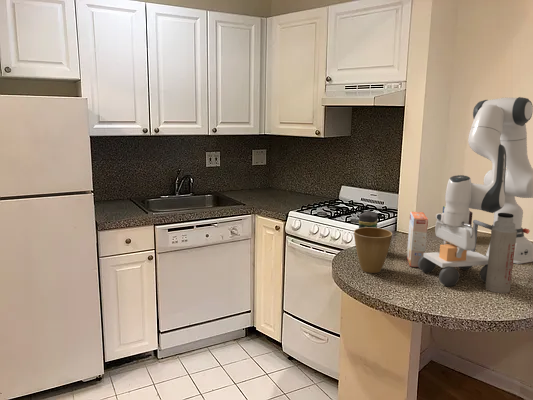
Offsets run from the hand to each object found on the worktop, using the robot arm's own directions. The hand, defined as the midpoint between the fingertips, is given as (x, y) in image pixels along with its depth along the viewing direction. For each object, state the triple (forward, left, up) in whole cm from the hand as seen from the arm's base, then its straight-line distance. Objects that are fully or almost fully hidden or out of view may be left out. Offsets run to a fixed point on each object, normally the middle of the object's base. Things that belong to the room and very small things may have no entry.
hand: (452, 254), depth 172 cm
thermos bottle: (-11, +12, -10) cm, 19 cm away
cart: (-4, -2, -10) cm, 11 cm away
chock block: (0, 0, -2) cm, 2 cm away
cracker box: (+3, -21, -10) cm, 23 cm away
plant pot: (+26, -15, -10) cm, 32 cm away
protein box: (-37, -53, -10) cm, 65 cm away
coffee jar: (+17, -39, -10) cm, 44 cm away
